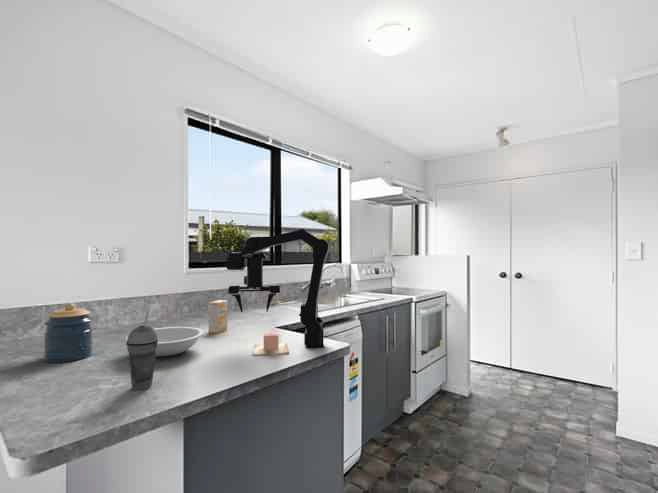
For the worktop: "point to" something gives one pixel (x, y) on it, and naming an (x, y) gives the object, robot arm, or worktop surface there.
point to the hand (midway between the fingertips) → (254, 312)
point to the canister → (68, 334)
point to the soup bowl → (175, 339)
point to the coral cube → (271, 341)
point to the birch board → (260, 350)
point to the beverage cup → (142, 355)
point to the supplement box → (218, 316)
